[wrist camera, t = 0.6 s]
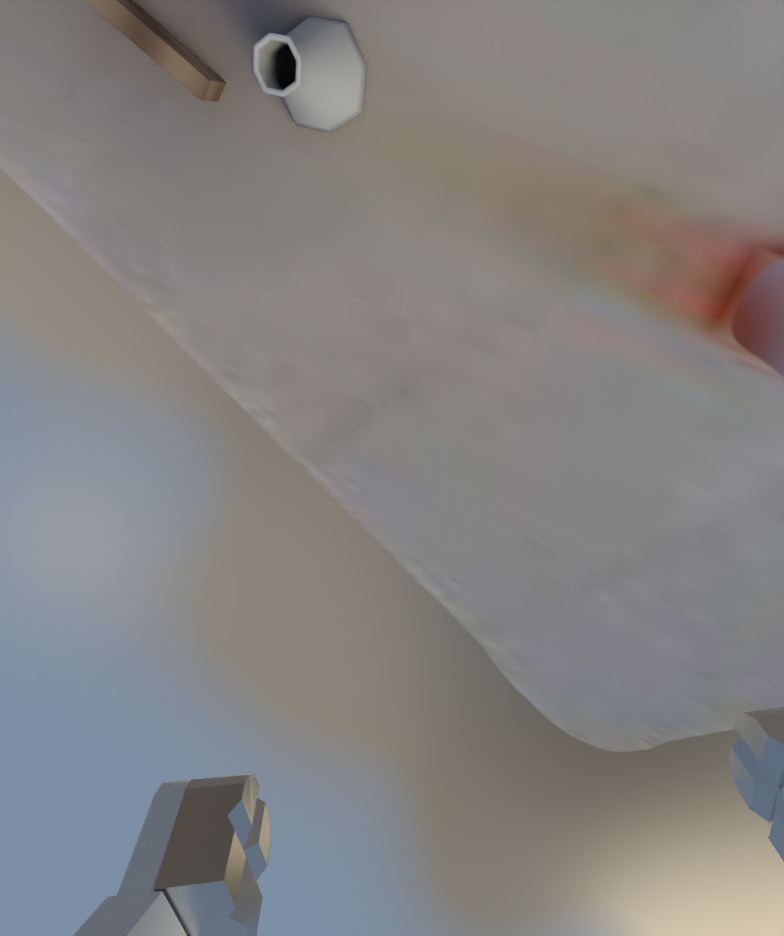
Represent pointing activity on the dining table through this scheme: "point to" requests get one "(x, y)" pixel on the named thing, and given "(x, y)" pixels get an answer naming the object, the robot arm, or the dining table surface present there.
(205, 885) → the robot arm
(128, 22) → the walnut bay
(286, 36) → the flask
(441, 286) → the dining table surface
